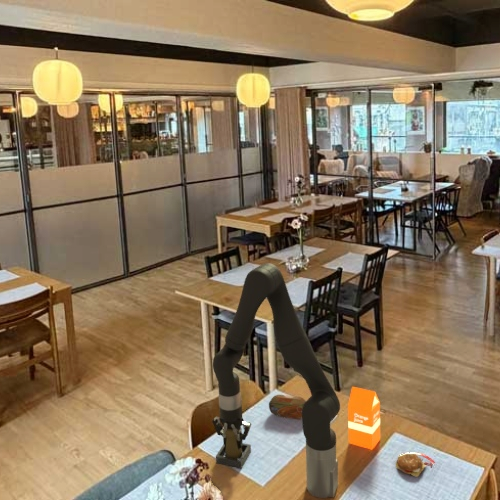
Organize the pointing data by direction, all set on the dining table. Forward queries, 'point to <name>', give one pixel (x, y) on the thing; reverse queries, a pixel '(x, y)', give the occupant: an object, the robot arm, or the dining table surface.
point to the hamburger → (412, 463)
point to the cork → (232, 445)
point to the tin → (287, 406)
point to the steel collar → (231, 461)
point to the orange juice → (364, 418)
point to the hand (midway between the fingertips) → (233, 446)
